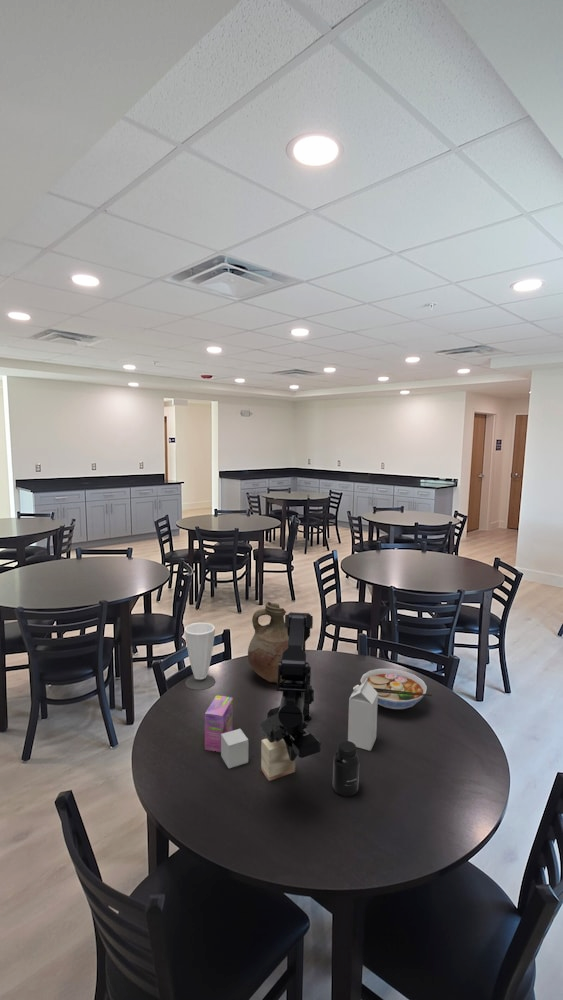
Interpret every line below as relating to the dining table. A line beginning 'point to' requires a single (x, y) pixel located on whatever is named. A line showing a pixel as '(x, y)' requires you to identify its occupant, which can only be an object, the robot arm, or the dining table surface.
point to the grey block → (234, 748)
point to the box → (218, 722)
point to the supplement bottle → (346, 769)
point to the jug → (268, 642)
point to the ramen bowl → (396, 687)
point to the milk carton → (363, 716)
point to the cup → (200, 654)
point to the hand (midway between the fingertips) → (292, 760)
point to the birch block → (275, 759)
